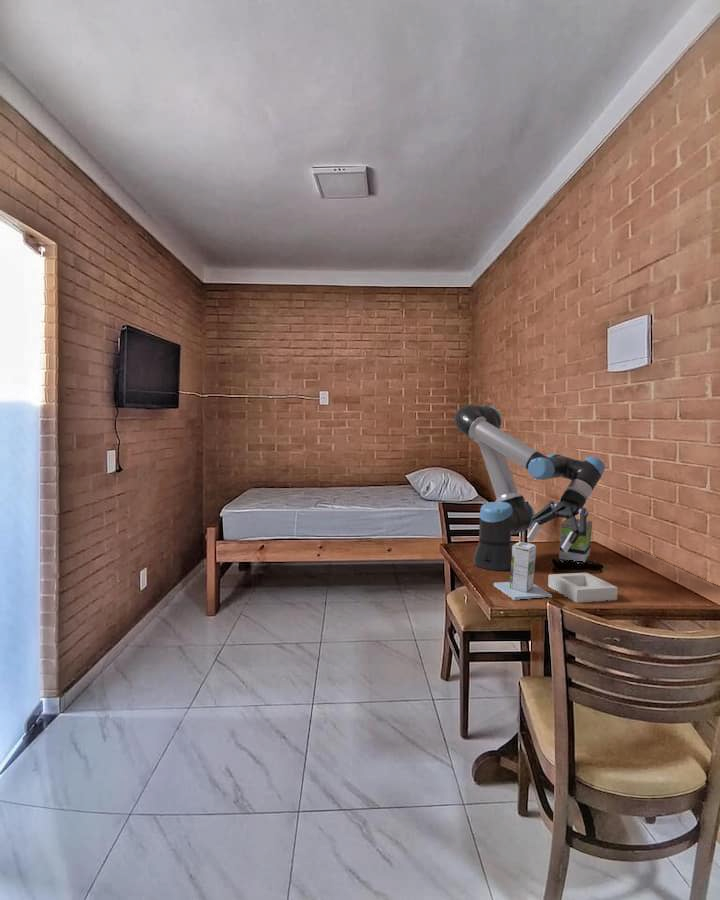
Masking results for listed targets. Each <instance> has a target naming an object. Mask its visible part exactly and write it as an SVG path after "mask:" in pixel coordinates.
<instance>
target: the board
mask: <svg viewBox="0 0 720 900" xmlns="http://www.w3.org/2000/svg"><path fill="white" fill-rule="evenodd" d="M493 586H494V587H495V588H496V589H497V590H499V591H500V590H501V591H500V592H502V593H503V594H505V595H506V596H507V595H508V597H509V598H510V597H511V598H510V599H512V600H513V601H521V600H520V599H528V600H532V599H531V598H540V597H549V598H548V599H552V598H553V595H552V594H551V593H550V592H548V591H546V590H545V589H543V588H541V587H540V586H538V585H537V584H535V583H534V584H533V588H532V589H531V590H529V591H528V592H523V591H519V590H515V589H511V588H510V581H505V582H503V581H502V582H501V581H499V582H493Z"/></svg>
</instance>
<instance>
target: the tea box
mask: <svg viewBox="0 0 720 900" xmlns="http://www.w3.org/2000/svg"><path fill="white" fill-rule="evenodd" d="M576 522H577V525H578V529H579V530H580V518H579V519H578V518H576ZM592 528H593V520H589V519H588V520H587V519H586V536H585V537H584V536H579V537H578V538H577V540H576V542H575V543H574V544H572V545H571V546H570V548H569V550H568V551H567V553H566V552H564V551H563V549H562V548H561V547H562V545H563V543H564V542H565V540H566V538H567V537H568V535H569V533H570V532H573V533H574V531H573V528H572V524H571V521H570V519H566V518H565V520H564V521H563V522H561V528H560V529H561V530H560V539H559V540H560V541H559V542H560V543H559V553H558V558H559V559H560V560H565V561H569V560H575V561H583V562H584V563H586V561H587V559H588V558H589V556H590V555H591V542H592V530H593V529H592ZM559 559H558V560H559ZM575 561H574V562H575Z"/></svg>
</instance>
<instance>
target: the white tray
mask: <svg viewBox="0 0 720 900" xmlns="http://www.w3.org/2000/svg"><path fill="white" fill-rule="evenodd" d="M547 579H548V582H547V583H548V584H547V586H548V587H549V588H550V589H552V590H554V591H555V590H556V591H555V592H557V591H558V592H557V593H558V594H561V595H562V594H563V595H562V596H564V597H565V598H567V597H568V599H569V600H571V601H573V602H574V603H577V604H579V603H590V602H591V603H593V601H594V602H606V600H608V601H617V600H618V591H619V589H618V588H619V587H617V586H616V585H614V584H612V583H610V582H608V581H605V580H604V579H601V578H599V577H596V576H594V575H593V574H590V573H588V572H574V573H573V572H572V573H571V572H570V573H569V572H568V573H553V574H548V578H547Z"/></svg>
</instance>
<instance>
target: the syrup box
mask: <svg viewBox="0 0 720 900" xmlns="http://www.w3.org/2000/svg"><path fill="white" fill-rule="evenodd" d="M511 550H512V561H511V569H510V577H509V578H510V579H509V582H510V588H511V589H515V590H519V591H523V592H528V591H529V590H531V589H532V588H533V584H535V581H534V580H535V571H536V570H535V568H536V567H535V566H536V552H537V545H536V544H533V543H531V542H522V541H519V542H516V543H514V544H512V546H511Z"/></svg>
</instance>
